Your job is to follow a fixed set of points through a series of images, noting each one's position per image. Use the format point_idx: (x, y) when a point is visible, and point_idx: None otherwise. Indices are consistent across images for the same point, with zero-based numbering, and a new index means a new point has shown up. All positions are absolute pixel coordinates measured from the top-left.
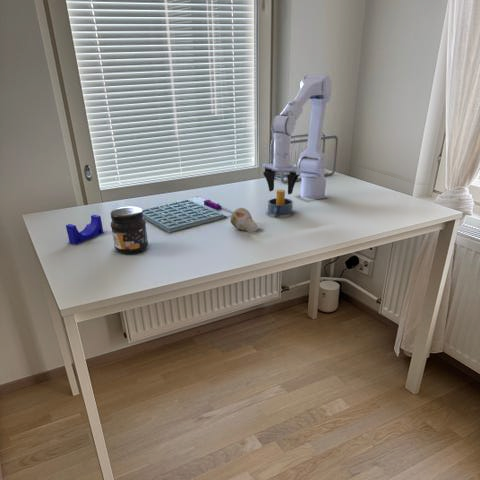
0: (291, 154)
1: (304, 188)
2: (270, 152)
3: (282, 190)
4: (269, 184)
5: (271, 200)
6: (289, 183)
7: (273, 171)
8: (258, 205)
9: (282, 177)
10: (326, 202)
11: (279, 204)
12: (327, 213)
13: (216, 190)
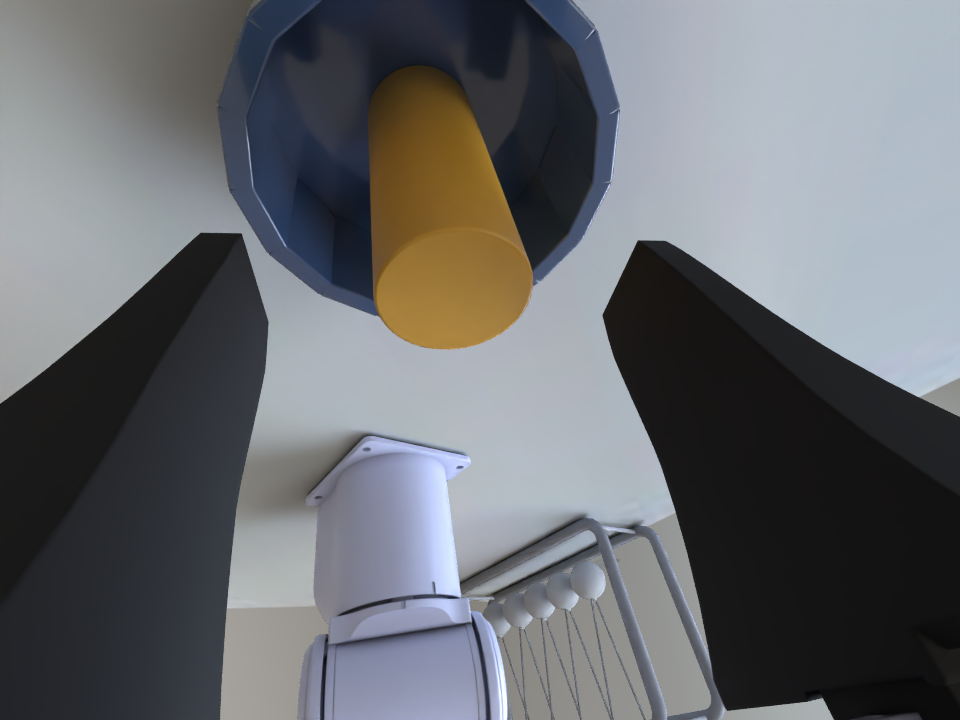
0: (601, 656)
1: (410, 511)
2: (701, 641)
3: (436, 326)
4: (740, 314)
5: (577, 202)
6: (43, 434)
7: (784, 664)
8: (690, 238)
9: (600, 540)
10: (248, 464)
11: (416, 112)
12: (13, 328)
13: (956, 350)
